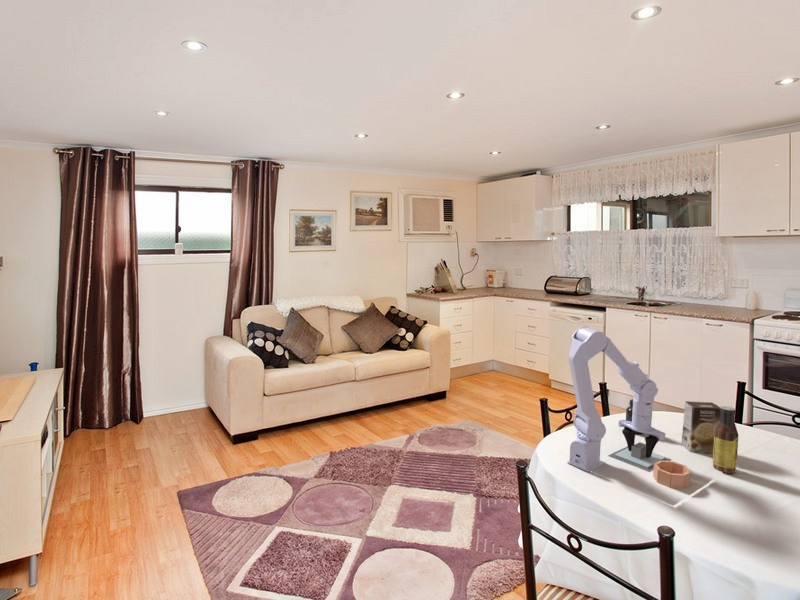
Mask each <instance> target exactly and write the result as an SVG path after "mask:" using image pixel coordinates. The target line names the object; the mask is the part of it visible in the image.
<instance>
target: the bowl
mask: <svg viewBox="0 0 800 600" xmlns="http://www.w3.org/2000/svg"><path fill="white" fill-rule="evenodd" d="M691 472H692V471H691V470H690V468H688V466H687V465H684V464H682V463H679V462H676V461H673V460H670V461H662V460H660V461H658V462H656V463H654V469H653V470H652V477H653V478H654V480H655V481H656V483H658V484H660V485H663V486H665V487H667V488H671V489H672V488H673V489H685V488H687V487H689V486H690V485H691V476H692V475H691V474H692V473H691Z"/></svg>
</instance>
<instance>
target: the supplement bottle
mask: <svg viewBox="0 0 800 600" xmlns="http://www.w3.org/2000/svg"><path fill="white" fill-rule="evenodd" d="M628 404H629V405H628V406H627V407H626V409H625V410H626V411H625V420H626V421H631V422H632V412H633V398H632V399H630V400H629V403H628ZM636 435H637V436H639V435H641V436H643V435H645V434H644V433H641V432H637V431H636ZM636 435H635V436H636Z"/></svg>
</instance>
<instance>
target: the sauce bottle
mask: <svg viewBox="0 0 800 600" xmlns="http://www.w3.org/2000/svg"><path fill="white" fill-rule="evenodd" d="M719 407H720V413H721V414H720V422H719V423H718V424H717V426H716V428H715V436H714V450H713V454H712V467H713V469H714V470H716V471H718V472H722V473H723V474H734V473H736V469H737V464H738V448H739V433H738V429H737V426H736V422H735V418H736V417H735V415H736V412H737V411H736V408H734V407H731V406H727V405H726V406H723V405H722V406H719Z"/></svg>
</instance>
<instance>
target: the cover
mask: <svg viewBox="0 0 800 600" xmlns="http://www.w3.org/2000/svg"><path fill="white" fill-rule="evenodd" d="M654 453H655V452H652V455H651V457H649V458H647V457H646V443H643V442H641V441H640V442H637V443H634V445H633V446H632V449H631V451H629V450H628V448H627V449H625V450H623V451H621V452H618V453H616V454H615V455H614V456H615V457H618V458H621V459H623V460H626V461H628V462H631V463H634V464H636V465H639V466H642V467H644V468H647V469H648V468H649V467H651V466H653V465H654V463H656V462H658V461H660V460H664V459H665V457H666V456H663V455H660V454H658V453H655V454H654ZM657 454H658V455H657ZM662 456H663V457H662Z"/></svg>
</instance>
